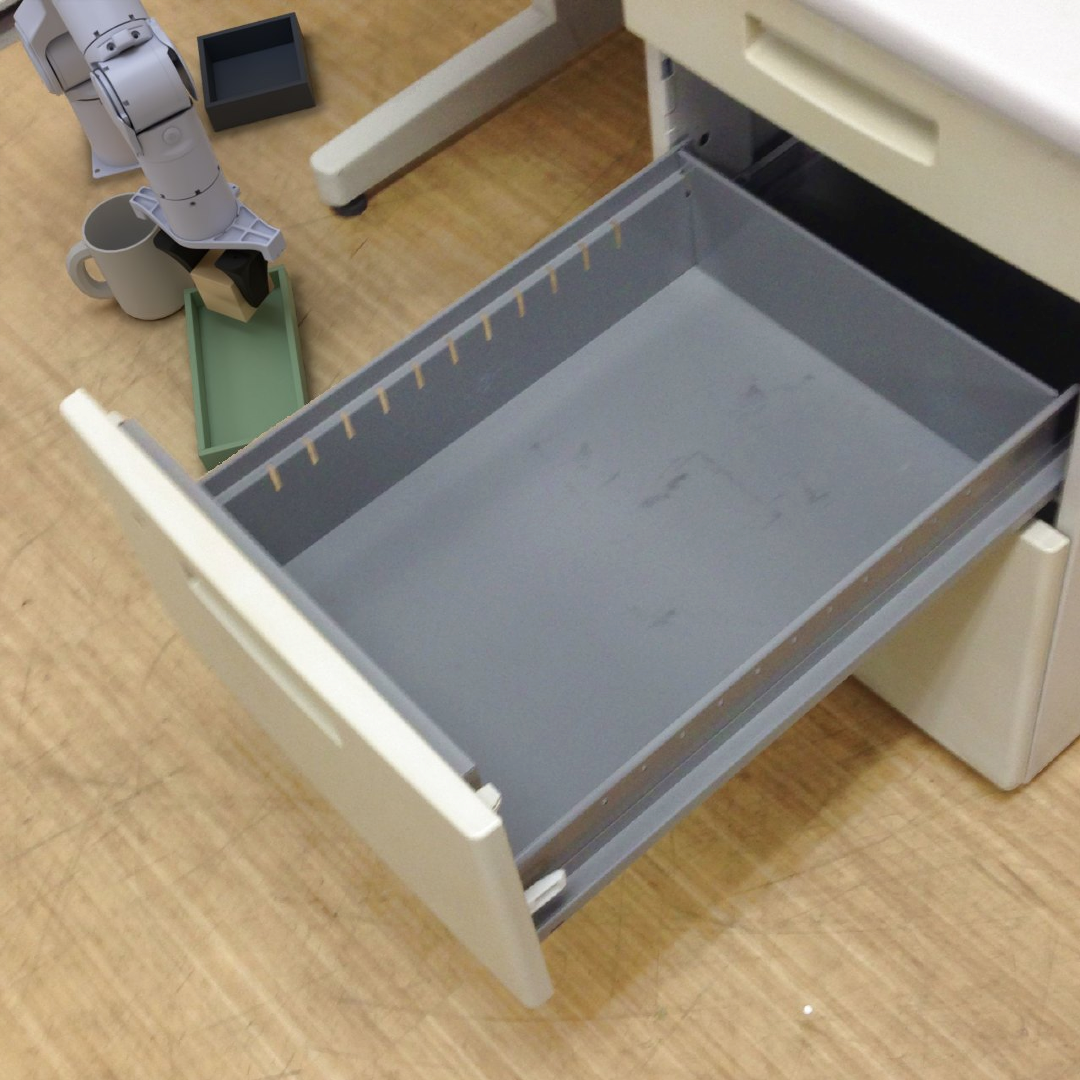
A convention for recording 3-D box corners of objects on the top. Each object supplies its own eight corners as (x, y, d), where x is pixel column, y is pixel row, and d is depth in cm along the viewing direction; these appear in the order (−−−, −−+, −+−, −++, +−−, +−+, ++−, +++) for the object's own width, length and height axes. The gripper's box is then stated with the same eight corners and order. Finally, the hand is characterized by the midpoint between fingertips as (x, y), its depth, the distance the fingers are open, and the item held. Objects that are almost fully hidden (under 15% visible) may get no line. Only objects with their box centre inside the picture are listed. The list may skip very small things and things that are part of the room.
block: (235, 273, 134) (219, 237, 130) (275, 287, 133) (259, 251, 129) (206, 308, 132) (189, 273, 129) (246, 323, 131) (230, 287, 127)
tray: (192, 308, 136) (183, 289, 134) (291, 283, 136) (283, 263, 134) (208, 474, 126) (198, 456, 124) (316, 446, 126) (307, 428, 123)
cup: (201, 308, 136) (166, 237, 129) (94, 340, 136) (53, 272, 129) (191, 253, 140) (157, 182, 133) (87, 285, 140) (47, 215, 133)
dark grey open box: (207, 64, 155) (196, 36, 152) (304, 40, 155) (294, 11, 152) (216, 135, 149) (204, 108, 146) (317, 110, 149) (307, 81, 146)
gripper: (286, 163, 119) (330, 282, 131) (144, 121, 125) (199, 238, 136) (235, 224, 116) (285, 340, 128) (92, 178, 122) (153, 293, 133)
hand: (238, 291), depth 132 cm, fingers closed on block, 4 cm apart
